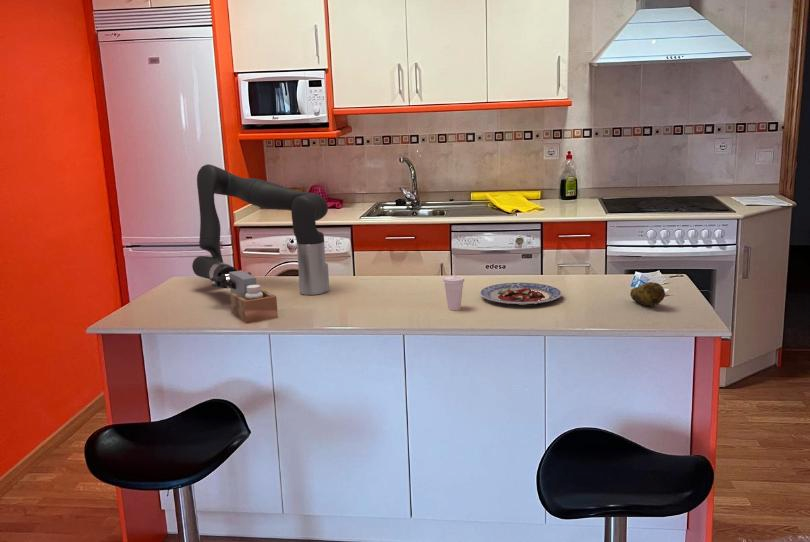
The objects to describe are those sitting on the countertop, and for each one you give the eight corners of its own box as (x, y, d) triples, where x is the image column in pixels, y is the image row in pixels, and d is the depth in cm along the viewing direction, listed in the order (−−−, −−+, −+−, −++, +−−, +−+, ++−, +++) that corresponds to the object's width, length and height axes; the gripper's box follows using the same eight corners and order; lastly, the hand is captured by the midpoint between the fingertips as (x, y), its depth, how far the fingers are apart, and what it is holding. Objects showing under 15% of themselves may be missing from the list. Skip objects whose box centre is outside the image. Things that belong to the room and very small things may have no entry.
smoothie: (467, 306, 230) (466, 262, 227) (461, 312, 225) (461, 266, 221) (447, 305, 233) (446, 261, 229) (441, 310, 227) (440, 265, 224)
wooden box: (231, 313, 231) (229, 293, 230) (261, 307, 236) (259, 288, 235) (246, 323, 220) (244, 301, 219) (277, 317, 226) (276, 296, 224)
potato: (655, 300, 231) (656, 275, 229) (667, 311, 218) (668, 285, 216) (628, 300, 231) (629, 275, 230) (638, 312, 219) (639, 285, 217)
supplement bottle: (260, 313, 231) (258, 283, 228) (267, 317, 226) (265, 286, 224) (244, 316, 228) (241, 285, 226) (250, 320, 223) (248, 289, 221)
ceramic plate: (577, 303, 231) (578, 294, 230) (503, 314, 222) (503, 304, 222) (536, 285, 255) (536, 277, 254) (467, 294, 246) (466, 285, 246)
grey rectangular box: (231, 302, 239) (229, 272, 236) (243, 300, 241) (241, 270, 238) (246, 311, 228) (243, 279, 226) (258, 309, 230) (256, 277, 228)
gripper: (201, 267, 243) (218, 276, 229) (243, 261, 251) (262, 269, 237) (203, 289, 245) (220, 300, 231) (245, 282, 252) (264, 292, 238)
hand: (241, 284), depth 234 cm, fingers closed on grey rectangular box, 4 cm apart
